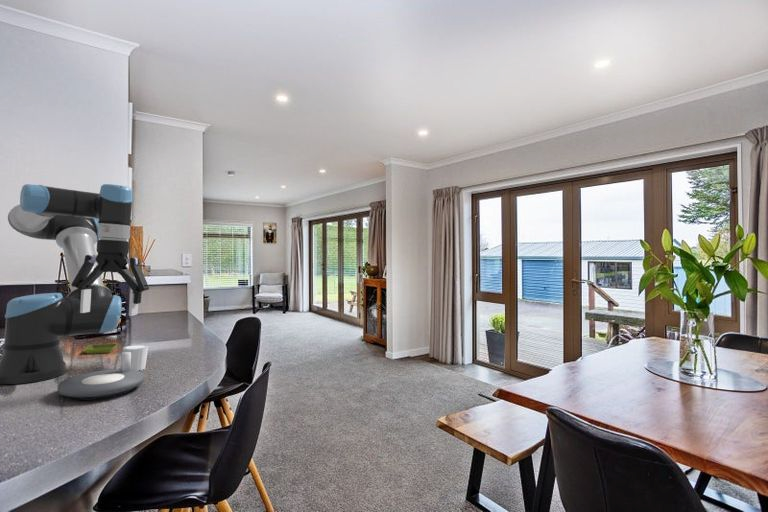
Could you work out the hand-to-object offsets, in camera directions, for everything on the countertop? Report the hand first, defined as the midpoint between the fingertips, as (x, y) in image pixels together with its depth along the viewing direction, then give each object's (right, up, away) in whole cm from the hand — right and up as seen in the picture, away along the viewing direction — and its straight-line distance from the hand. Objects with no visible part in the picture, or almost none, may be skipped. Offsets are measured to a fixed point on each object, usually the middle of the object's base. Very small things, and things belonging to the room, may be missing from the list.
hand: (109, 313), depth 107 cm
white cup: (0, -19, +11) cm, 22 cm away
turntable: (+5, -17, -9) cm, 20 cm away
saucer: (-25, -19, +31) cm, 44 cm away
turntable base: (+5, -19, -9) cm, 21 cm away
